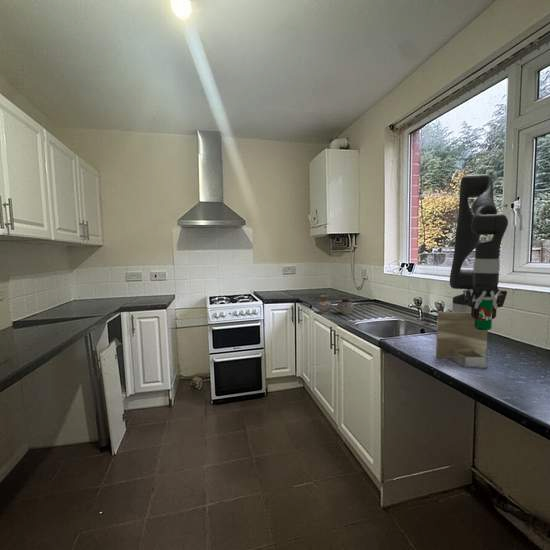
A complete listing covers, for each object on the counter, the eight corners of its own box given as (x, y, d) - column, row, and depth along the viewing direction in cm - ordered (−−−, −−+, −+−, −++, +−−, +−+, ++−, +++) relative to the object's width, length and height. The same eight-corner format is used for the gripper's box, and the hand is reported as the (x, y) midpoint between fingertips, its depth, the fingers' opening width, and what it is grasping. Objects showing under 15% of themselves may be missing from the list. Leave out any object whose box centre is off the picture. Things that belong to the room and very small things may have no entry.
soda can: (485, 327, 112) (487, 294, 111) (494, 330, 107) (496, 297, 106) (471, 327, 112) (473, 294, 111) (480, 330, 107) (482, 297, 106)
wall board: (435, 355, 122) (437, 311, 120) (483, 357, 120) (486, 312, 118) (437, 357, 120) (439, 312, 119) (485, 358, 118) (488, 313, 117)
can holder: (450, 357, 120) (450, 348, 119) (472, 358, 119) (472, 349, 118) (462, 366, 110) (463, 357, 110) (487, 367, 109) (487, 358, 109)
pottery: (317, 311, 213) (317, 294, 212) (354, 312, 208) (354, 295, 207) (316, 314, 202) (316, 296, 201) (355, 316, 197) (355, 297, 196)
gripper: (500, 270, 111) (497, 316, 112) (459, 270, 112) (457, 315, 114) (514, 272, 103) (511, 321, 105) (470, 272, 105) (468, 320, 106)
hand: (483, 318), depth 109 cm, fingers closed on soda can, 5 cm apart
